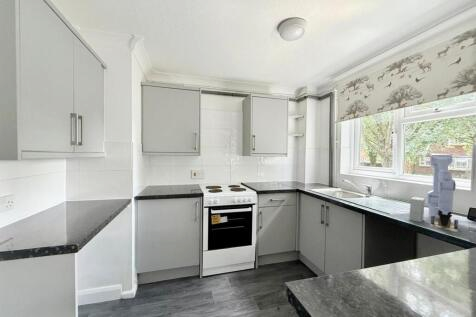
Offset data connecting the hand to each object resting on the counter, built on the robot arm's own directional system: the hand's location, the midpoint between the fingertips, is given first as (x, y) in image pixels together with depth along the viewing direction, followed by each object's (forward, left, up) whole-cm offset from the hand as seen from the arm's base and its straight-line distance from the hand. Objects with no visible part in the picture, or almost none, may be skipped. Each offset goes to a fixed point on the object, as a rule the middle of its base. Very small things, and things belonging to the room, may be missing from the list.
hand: (444, 224), depth 116 cm
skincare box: (-8, -13, -3) cm, 15 cm away
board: (-5, 0, -3) cm, 6 cm away
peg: (0, 0, -2) cm, 2 cm away
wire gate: (-5, 0, -2) cm, 5 cm away
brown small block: (0, 0, -1) cm, 1 cm away
